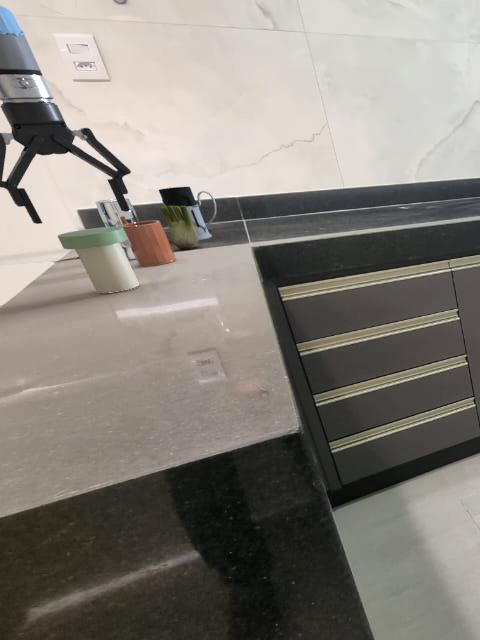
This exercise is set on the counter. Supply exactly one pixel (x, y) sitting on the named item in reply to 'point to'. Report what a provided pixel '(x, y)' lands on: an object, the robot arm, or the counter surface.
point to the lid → (92, 237)
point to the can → (108, 268)
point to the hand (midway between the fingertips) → (84, 217)
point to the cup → (149, 243)
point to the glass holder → (188, 207)
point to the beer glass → (118, 219)
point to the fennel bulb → (180, 227)
